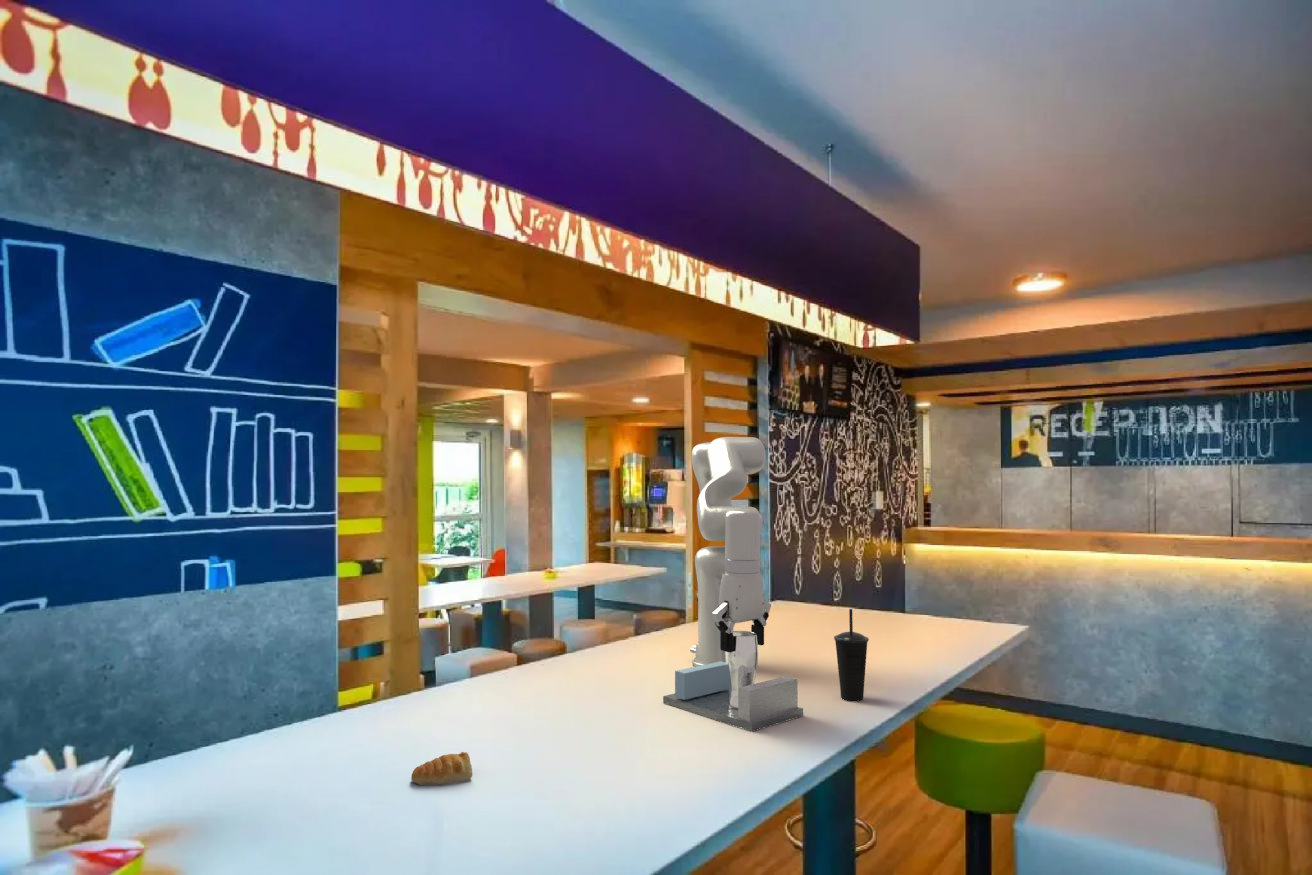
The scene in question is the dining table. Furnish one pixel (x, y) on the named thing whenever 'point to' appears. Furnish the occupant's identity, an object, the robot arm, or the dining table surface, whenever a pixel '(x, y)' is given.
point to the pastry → (444, 770)
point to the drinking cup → (851, 662)
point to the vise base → (724, 711)
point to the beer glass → (741, 663)
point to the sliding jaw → (701, 680)
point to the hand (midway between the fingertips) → (742, 647)
